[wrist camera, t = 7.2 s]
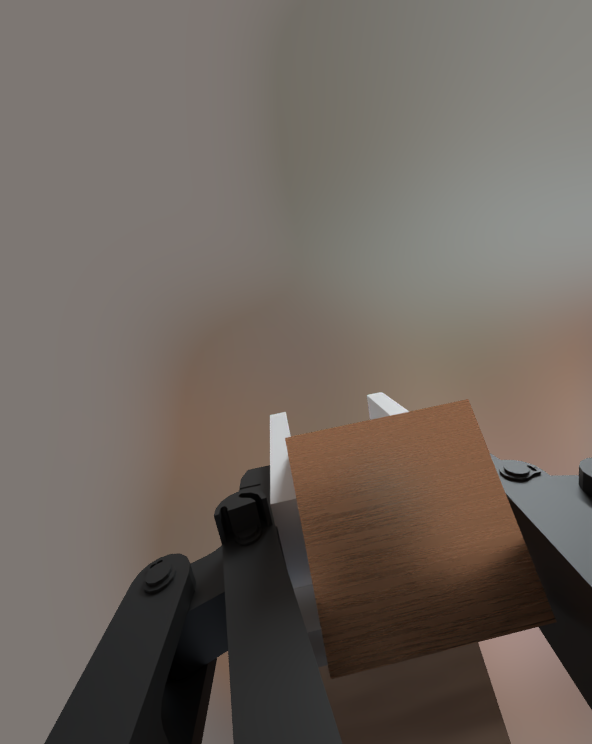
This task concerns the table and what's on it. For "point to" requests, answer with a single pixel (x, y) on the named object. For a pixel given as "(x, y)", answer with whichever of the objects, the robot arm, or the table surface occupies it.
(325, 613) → the wood grain block
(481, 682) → the post
